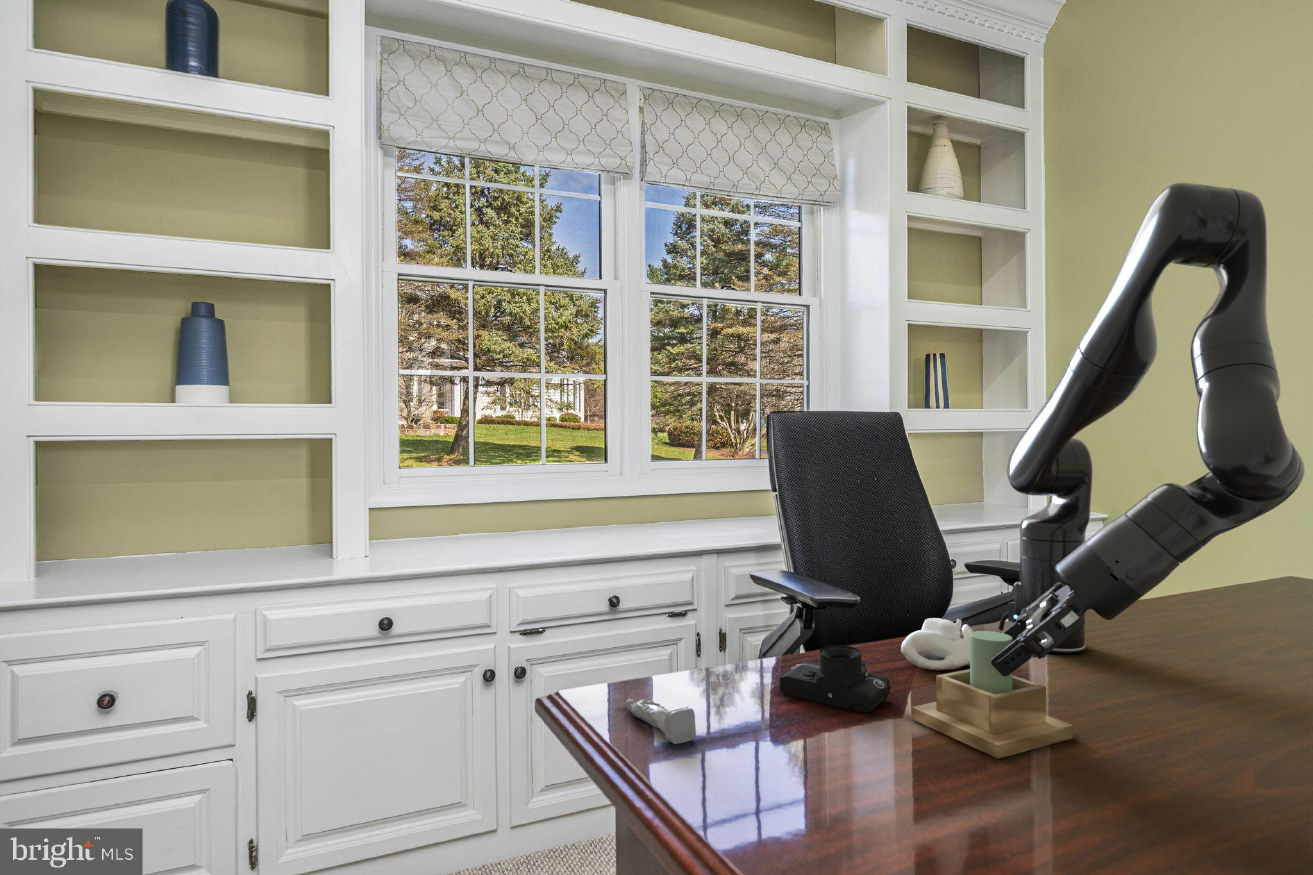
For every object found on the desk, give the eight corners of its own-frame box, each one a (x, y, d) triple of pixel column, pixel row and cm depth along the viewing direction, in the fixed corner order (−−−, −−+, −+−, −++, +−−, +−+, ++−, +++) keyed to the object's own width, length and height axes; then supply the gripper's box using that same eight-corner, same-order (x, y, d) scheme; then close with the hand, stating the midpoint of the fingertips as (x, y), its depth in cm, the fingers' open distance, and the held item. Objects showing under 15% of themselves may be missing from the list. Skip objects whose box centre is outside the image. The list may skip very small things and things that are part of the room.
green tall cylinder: (961, 710, 86) (961, 633, 86) (988, 704, 88) (988, 628, 88) (993, 724, 82) (994, 642, 82) (1020, 717, 84) (1021, 638, 84)
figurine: (671, 746, 80) (668, 713, 80) (618, 721, 90) (615, 692, 91) (697, 738, 82) (694, 705, 82) (642, 714, 92) (640, 686, 92)
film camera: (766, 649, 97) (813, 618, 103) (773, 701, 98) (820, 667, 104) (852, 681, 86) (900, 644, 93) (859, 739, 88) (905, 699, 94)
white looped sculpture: (899, 671, 106) (889, 615, 111) (948, 689, 113) (937, 635, 117) (953, 656, 101) (940, 597, 106) (1001, 675, 107) (987, 619, 112)
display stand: (911, 719, 88) (911, 672, 88) (982, 703, 93) (983, 659, 93) (998, 759, 77) (998, 706, 77) (1073, 738, 83) (1073, 689, 83)
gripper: (1082, 532, 87) (976, 619, 93) (1093, 548, 75) (969, 648, 80) (1135, 581, 85) (1023, 667, 90) (1156, 607, 72) (1024, 706, 77)
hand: (998, 658), depth 85 cm, fingers open, 8 cm apart
